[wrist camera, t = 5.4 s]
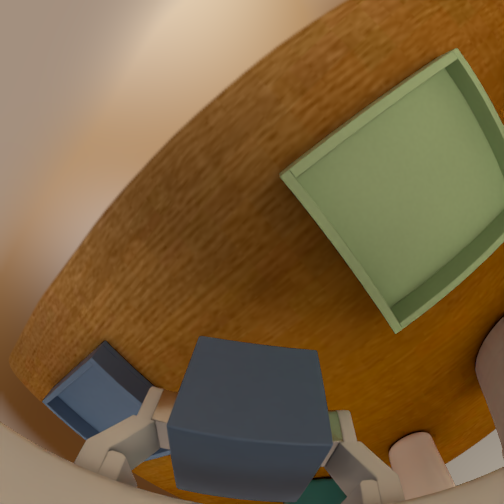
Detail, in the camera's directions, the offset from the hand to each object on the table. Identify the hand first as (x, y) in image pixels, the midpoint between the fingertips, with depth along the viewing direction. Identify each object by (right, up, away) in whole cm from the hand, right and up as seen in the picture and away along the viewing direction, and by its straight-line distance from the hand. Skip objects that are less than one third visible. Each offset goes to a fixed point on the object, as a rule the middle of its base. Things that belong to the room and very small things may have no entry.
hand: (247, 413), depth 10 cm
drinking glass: (+18, -15, +15) cm, 28 cm away
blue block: (0, +1, +2) cm, 2 cm away
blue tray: (-14, -10, +15) cm, 23 cm away
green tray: (+11, +10, +6) cm, 16 cm away
